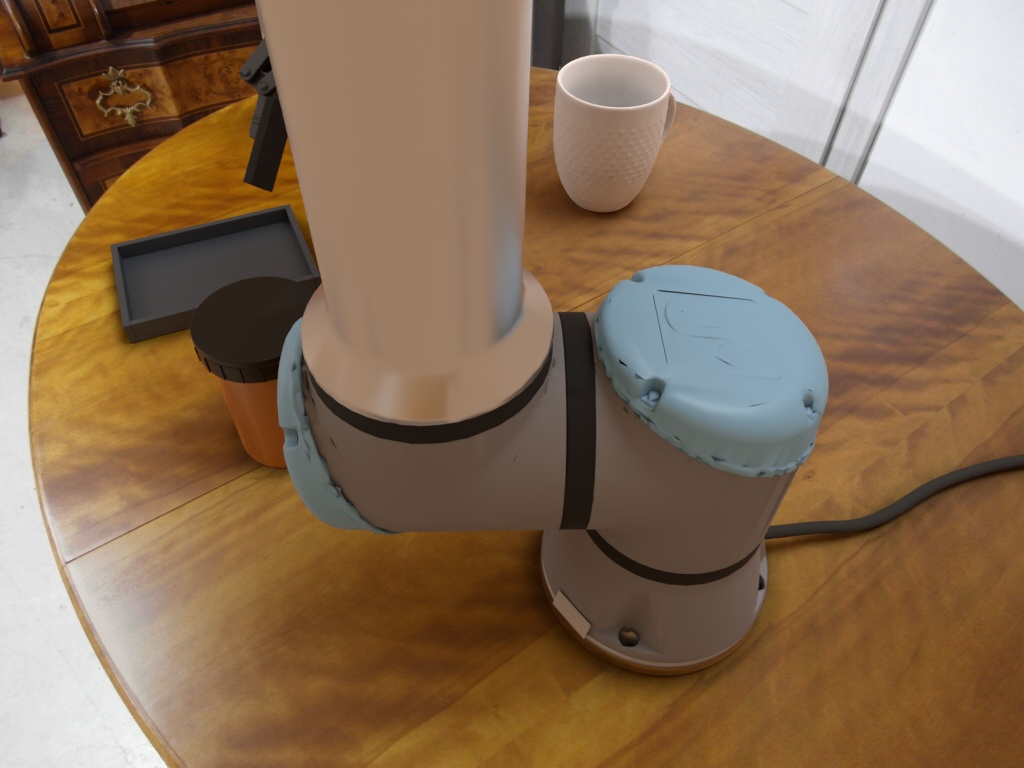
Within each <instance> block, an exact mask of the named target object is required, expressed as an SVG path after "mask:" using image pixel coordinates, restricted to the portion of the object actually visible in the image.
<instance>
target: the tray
mask: <svg viewBox="0 0 1024 768" xmlns="http://www.w3.org/2000/svg"><path fill="white" fill-rule="evenodd" d="M109 249H110V254H111V260H112V268H113V272H114V278H115V279H114V280H115V285H116V291H117V298H118V304H119V310H120V311H119V312H120V317H121V324H122V328H123V331H124V332H125V334H126V336H127V339H128V340H129V342H130V343H131V344H134V343H138V342H141V341H145V340H149V339H152V338H157V337H160V336H163V335H164V336H165V335H168V334H171V333H172V334H173V333H176V332H179V331H182V330H186V329H190V323H191V319H192V317H193V314H194V312H195V311H196V309H197V308H198V306H199V305H200V304H201V303H202V302H203V301H204V300H205V299H206V298H207V297H208V296H209V295H211V294H212V293H214V292H215V291H217V290H218V289H220V288H222V287H224V286H226V285H228V284H231V283H234V282H236V281H240V280H243V279H248V278H253V277H265V276H270V277H281V278H286V279H290V280H293V281H296V282H298V283H300V284H302V285H304V286H305V287H307V288H308V289H309V290H310V291H311V292H312V293H313V294H314V292H315V291H316V290H317V288H318V287H319V286H320V285H321V283H322V280H321V275H320V271H319V268H318V267H317V265H316V262H315V260H314V258H313V255H312V252H311V250H310V248H309V246H308V244H307V241H306V239H305V237H304V234H303V232H302V229H301V227H300V225H299V222H298V219H297V218H296V215H295V212H294V211H293V208H292V206H291V204H290V203H288V204H283V205H278V206H275V207H270V208H266V209H262V210H257V211H252V212H247V213H244V214H240V215H235V216H230V217H226V218H221V219H218V220H217V219H216V220H213V221H209V222H206V223H205V222H204V223H201V224H195V225H192V226H187V227H183V228H178V229H174V230H170V231H165V232H161V233H156V234H152V235H147V236H143V237H139V238H134V239H130V240H126V241H122V242H117V243H113V244H110V245H109Z"/></svg>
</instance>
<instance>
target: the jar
mask: <svg viewBox="0 0 1024 768" xmlns="http://www.w3.org/2000/svg"><path fill="white" fill-rule="evenodd" d="M214 377H215V380H216V381H217V385H218V386H219V389H220V391H221V394H222V396H223V400H224V401H225V404H226V407H227V409H228V411H229V415H230V416H231V419H232V421H233V424H234V427H235V429H236V431H237V434H238V437H239V439H240V441H241V443H242V445H243V449H244V451H245V452H246V453H247V455H248V456H249V457H250V458H251V459H252V460H253V461H255V462H257V463H259V464H261V465H263V466H267V467H271V468H277V469H279V468H280V469H285V468H286V469H288V468H287V464H286V461H285V457H284V451H283V446H284V443H285V434H284V430H283V428H282V427H280V426H279V416H278V405H277V383H278V379H276V380H272V381H268V382H262V383H245V384H243V383H236V382H231V381H228V380H224V379H222V378H219V377H218V376H216V375H214Z"/></svg>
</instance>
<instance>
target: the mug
mask: <svg viewBox="0 0 1024 768" xmlns="http://www.w3.org/2000/svg"><path fill="white" fill-rule="evenodd" d="M671 85H672V84H671V80H670V77H669V75H668V74H667V72H665V70H664V69H662V68H661V67H660V66H658V65H656V64H654V63H653V62H650V61H648V60H646V59H643V58H639V57H636V56H633V55H627V54H619V53H617V54H616V53H600V54H598V53H597V54H590V55H585V56H582V57H581V56H580V57H579V58H576V59H574V60H571V61H570V62H567V64H565V65H564V66H563V67H561V69H560V70H559V72H558V73H557V76H556V82H555V96H554V112H553V125H552V127H553V130H552V133H553V137H552V140H553V141H552V142H553V153H554V161H555V165H556V171H557V174H558V176H559V180H560V183H561V184H562V187H563V189H564V191H565V192H566V194H567V196H568V197H569V198H570V199H571V200H572V202H574V204H576V205H577V206H578V207H579V208H582V209H584V210H586V211H589V212H595V213H612V212H616V211H619V210H622V209H624V208H625V207H626V206H628V205H629V204H630V203H632V201H634V200H635V198H636V197H637V195H638V194H639V193H640V192H641V191H642V189H643V188H644V186H645V184H646V183H647V181H648V179H649V176H650V175H651V173H652V170H653V167H654V165H655V163H656V160H657V156H658V154H659V152H660V148H661V147H662V145H663V143H664V142H665V141H666V139H667V137H668V135H669V133H670V132H671V129H672V128H673V127H672V126H673V123H674V120H675V118H676V110H677V100H676V96H675V94H674V92H673V91H672V90H671Z"/></svg>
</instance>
